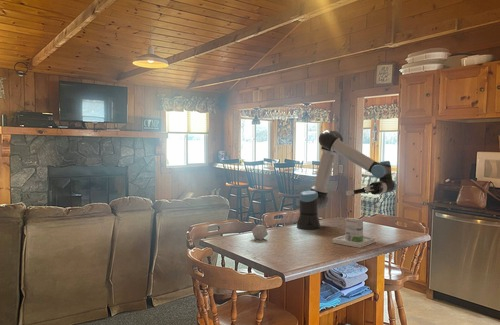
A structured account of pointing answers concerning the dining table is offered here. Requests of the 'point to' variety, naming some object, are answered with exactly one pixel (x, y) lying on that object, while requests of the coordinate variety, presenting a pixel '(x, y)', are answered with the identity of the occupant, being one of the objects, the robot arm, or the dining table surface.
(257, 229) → the die
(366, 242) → the pin tray
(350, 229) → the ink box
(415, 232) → the dining table surface
